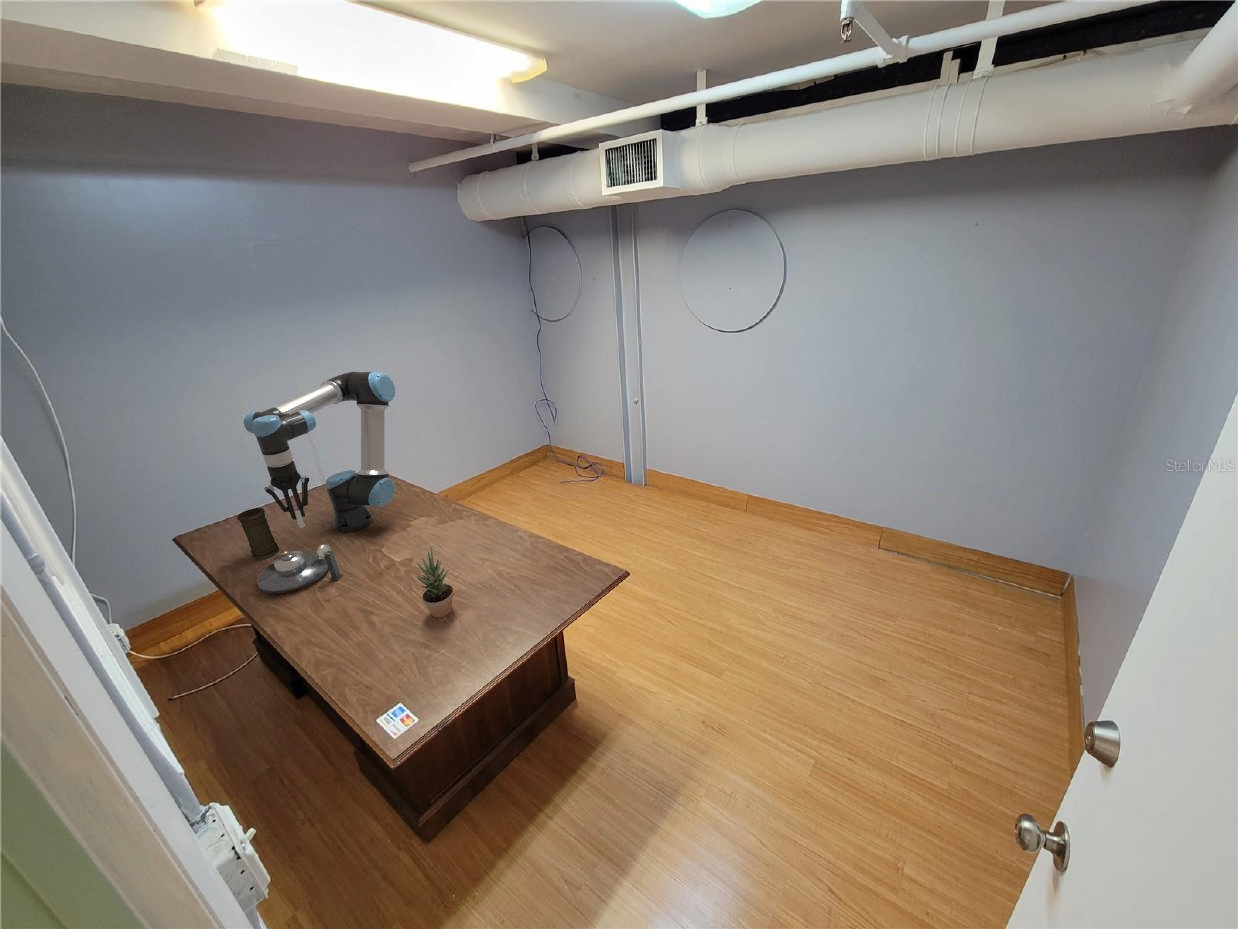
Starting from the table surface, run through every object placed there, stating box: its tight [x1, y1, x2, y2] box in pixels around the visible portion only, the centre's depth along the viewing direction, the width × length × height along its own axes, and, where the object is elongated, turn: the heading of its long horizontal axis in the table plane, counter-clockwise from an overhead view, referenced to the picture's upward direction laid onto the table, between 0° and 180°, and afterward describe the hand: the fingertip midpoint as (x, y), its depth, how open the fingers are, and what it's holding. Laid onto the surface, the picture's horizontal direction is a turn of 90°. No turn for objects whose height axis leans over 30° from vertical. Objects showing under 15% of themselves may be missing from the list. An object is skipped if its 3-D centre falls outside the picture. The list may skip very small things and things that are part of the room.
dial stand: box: [316, 544, 344, 582], centre depth 174 cm, size 4×5×14 cm
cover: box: [272, 550, 307, 578], centre depth 175 cm, size 9×9×6 cm
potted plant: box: [415, 544, 455, 618], centre depth 153 cm, size 10×10×25 cm
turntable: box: [256, 549, 329, 595], centre depth 176 cm, size 22×22×5 cm
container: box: [237, 507, 280, 560], centre depth 190 cm, size 9×9×18 cm
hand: (301, 526), depth 170 cm, fingers closed
